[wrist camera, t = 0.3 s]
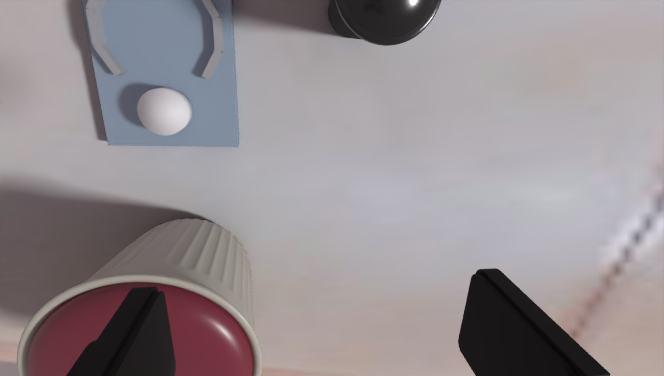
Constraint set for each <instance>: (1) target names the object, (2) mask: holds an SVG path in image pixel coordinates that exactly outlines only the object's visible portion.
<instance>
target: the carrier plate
mask: <svg viewBox="0 0 664 376" xmlns="http://www.w3.org/2000/svg"><path fill="white" fill-rule="evenodd" d="M81 2H82V7H83V12H84V18H85V23H86V29H87V34H88V39H89V45H90V50H91V56H92V61H93V66H94V72H95V77H96V82H97V88H98V93H99V99H100V104H101V109H102V115H103V120H104V126H105V131H106V136H107V142H108V145H133V146H218V147H238V145H239V127H238V107H237V87H236V67H235V47H234V28H233V8H232V0H81Z"/></svg>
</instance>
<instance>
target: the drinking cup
mask: <svg viewBox="0 0 664 376" xmlns="http://www.w3.org/2000/svg"><path fill="white" fill-rule="evenodd" d="M440 3H441V0H330V4H329V9H328V15H329V20H330V23H331V25H332V27H333V28H334V30H335V31H336V32H337V33H338V34H340V35H342V36H344V37H347V38H355V39H363V40H365V41H367V42H370V43H373V44H377V45H384V46H387V45H396V44H400V43H403V42H406V41H408V40H410V39H412V38H414V37H415V36H417V35H418V34H419V33H421V32H422V31H423V30H424V29H425V28H426V27H427V26H428V24H429V23H430V22H431V20H432V19H433V17H434V16H435V14H436V12H437V10H438V8H439V6H440Z"/></svg>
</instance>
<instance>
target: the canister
mask: <svg viewBox="0 0 664 376" xmlns="http://www.w3.org/2000/svg"><path fill="white" fill-rule="evenodd" d="M150 286H155V287H157V289H158V291H163V292H164V294H165V298H166V305H167V311H168V317H169V323H170V330H171V336H172V342H173V348H174V355H175V361H176V372H175V376H261V373H262V351H261V347H260V343H259V340H258V338H257V335H256V333H255V329H254V307H253V288H252V276H251V269H250V262H249V259H248V257H247V253H246V251H245V250H244V249H243V246H242V244H241V243H240V242H239V241H238V240H237V238H236V237H235V236H233V235H232V234H231V232H230V231H227V230H226V229H224V228H223V227H222V226H218V225H217V224H215V223H211V222H208V221H207V220H199V219H189V218H186V219H176V220H174V221H167V222H165V223H163V224H161V225H157V226H155V227H154V228H152V229H151V230H149V231H147V232H145V233H144V234H143V235H141V236H140V237H139V238H137V239H136V240H135V241H133V242H132V243H131V244H130V245H128V246H127V247H126V248H124V249H123V250H122V251H121V252H120V253H118V254H117V255H116V256H115V257H114V258H112V259H111V260H110V261H109V262H108V263H106V264H105V265H104V266H103V267H102V268H100V269H99V270H98V271H97V272H96V273H94V274H93V275H92V276H91V277H90V278H88V279H87V280H86V281H85V282H83V283H80V284H78V285H75V286H73V287H71V288H69V289H67V290H65V291H63V292H61V293H60V294H58V295H56V296H55V297H54V298H52V299H51V300H49V301H48V302H47V303H46V304H45V305H44V306H42V307H41V308H40V309H39V310H38V311H37V313H36V314H35V315H34V316H33V317H32V318H31V320H30V321H29V323H28V324H27V326H26V327H25V329H24V331H23V333H22V336H21V338H20V342H19V345H18V351H17V367H18V373H19V376H66V375H67V373H68V372H69V371H70V369H71V368H72V366H73V365H74V363H75V362H76V361H77V359H78V358H79V356H80V355H81V353H82V352H83V351H84V349H85V348H86V347H87V345H88V344H89V343H90V342H92V341H94V340H97V339H98V337H99V336H100V334H101V333H102V331H103V330H104V328H105V327H106V325H107V324H108V323H109V321H110V320H111V318H112V317H113V315H114V314H115V312H116V311H117V309H118V308H119V306H120V305H121V303H122V302H123V300H124V299H125V297H126V296H127V295H128V293H129V292H130V290H131V289H132V288H134V287H150Z"/></svg>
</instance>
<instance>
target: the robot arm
mask: <svg viewBox="0 0 664 376" xmlns="http://www.w3.org/2000/svg"><path fill="white" fill-rule="evenodd" d="M458 343H459V348H460V351H461V353H462V354H463V356H464V357H465V359H466V361H467V362H468V364H469V365H470V367H471V369H472V370H473V372H474V373H475V375H476V376H610V373H609V372H608V371H607V370H605V369H604V368H603V367H602V366H601V365H600V364H599V363H598V362H597V361H596V360H595V359H594V358H593V357H592V356H591V355H589V354H588V353H587V352H586V351H585V350H584V349H583V348H582V347H581V346H580V345H579V344H578V343H577V342H576V341H575V340H573V339H572V338H571V337H570V336H569V335H568V334H567V333H566V332H565V331H564V330H563V329H562V328H561V327H560V326H559V325H557V324H556V323H555V322H554V321H553V320H552V319H551V318H550V317H549V316H548V315H547V314H546V313H545V312H544V311H543V310H542V309H540V308H539V307H538V306H537V305H536V304H535V303H534V302H533V301H532V300H531V299H530V298H529V297H528V296H527V295H526V294H524V293H523V292H522V291H521V290H520V289H519V288H518V287H517V286H516V285H515V284H514V283H513V282H512V281H511V280H510V279H508V278H507V277H506V276H505V275H504V274H503V273H502V272H501V271H500V270H498V269H480V270H478V271H477V272H476V274H474V275H473V276H472V278H471V282H470V286H469V291H468V296H467V301H466V306H465V310H464V315H463V320H462V325H461V329H460V334H459V339H458ZM175 372H176V361H175V355H174V348H173V342H172V336H171V330H170V323H169V317H168V311H167V305H166V298H165V294H164V292H163V291H158V289H157V287H155V286H150V287H134V288H132V289H131V290H130V292H129V293H128V295H127V296H126V297H125V299H124V300H123V302H122V303H121V305H120V306H119V308H118V309H117V311H116V312H115V314H114V315H113V317H112V318H111V320H110V321H109V323H108V324H107V325H106V327H105V328H104V330H103V331H102V333H101V334H100V336H99V337H98V339H97V340H94V341H92V342H90V343H89V344H88V345H87V347H86V348H85V349H84V351H83V352H82V353H81V355H80V356H79V358H78V359H77V361H76V362H75V363H74V365H73V366H72V368H71V369H70V371H69V372H68V373H67V375H66V376H175Z"/></svg>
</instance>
